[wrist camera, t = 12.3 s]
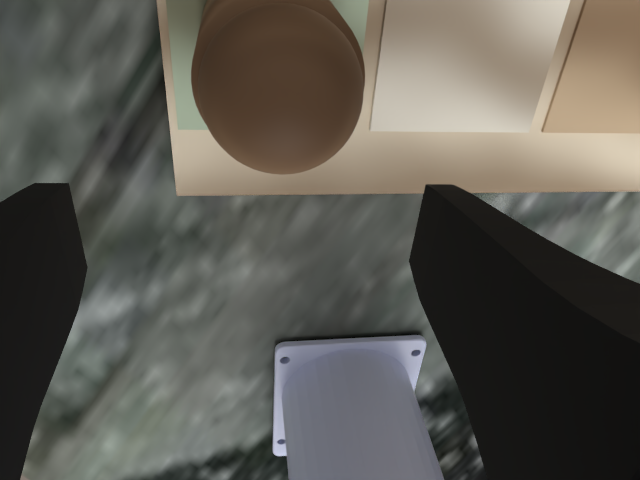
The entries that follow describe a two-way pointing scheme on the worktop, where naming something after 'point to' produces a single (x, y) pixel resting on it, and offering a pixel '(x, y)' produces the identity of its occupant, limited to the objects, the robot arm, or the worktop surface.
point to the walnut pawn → (277, 81)
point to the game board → (449, 101)
